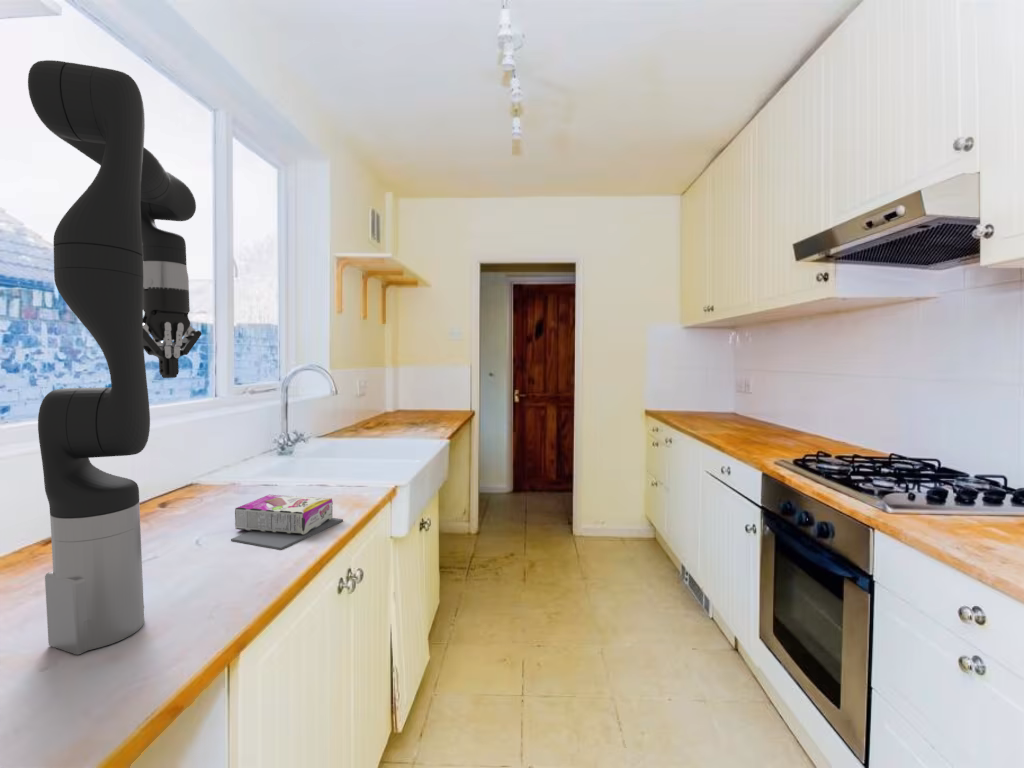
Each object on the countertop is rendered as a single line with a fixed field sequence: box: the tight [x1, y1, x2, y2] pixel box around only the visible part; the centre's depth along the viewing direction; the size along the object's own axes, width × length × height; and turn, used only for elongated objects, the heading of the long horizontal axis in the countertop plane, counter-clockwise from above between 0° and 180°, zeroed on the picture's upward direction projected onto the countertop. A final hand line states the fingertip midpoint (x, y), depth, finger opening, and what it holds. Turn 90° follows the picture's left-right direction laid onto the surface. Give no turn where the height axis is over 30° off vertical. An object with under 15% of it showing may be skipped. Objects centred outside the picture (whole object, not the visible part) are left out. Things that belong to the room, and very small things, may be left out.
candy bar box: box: [234, 494, 333, 535], centre depth 111 cm, size 11×5×16 cm
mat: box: [230, 517, 344, 551], centre depth 108 cm, size 18×13×1 cm
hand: (169, 377), depth 99 cm, fingers closed
